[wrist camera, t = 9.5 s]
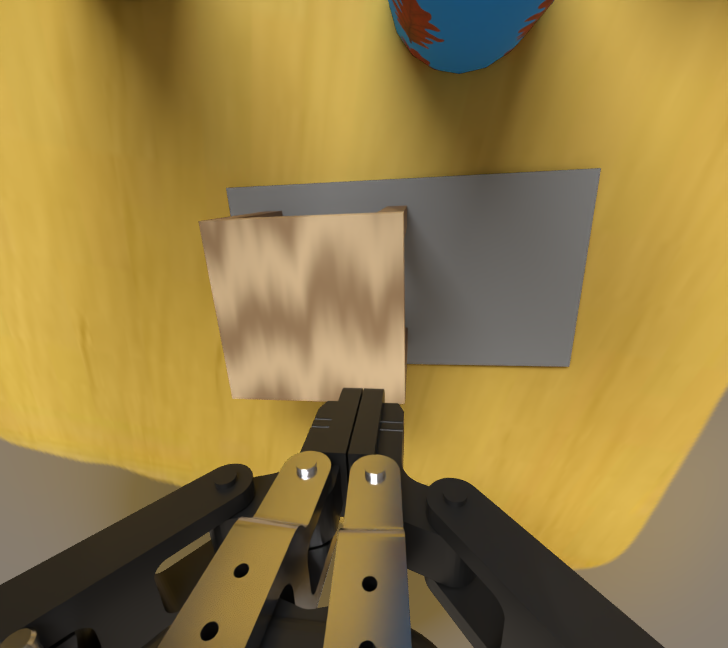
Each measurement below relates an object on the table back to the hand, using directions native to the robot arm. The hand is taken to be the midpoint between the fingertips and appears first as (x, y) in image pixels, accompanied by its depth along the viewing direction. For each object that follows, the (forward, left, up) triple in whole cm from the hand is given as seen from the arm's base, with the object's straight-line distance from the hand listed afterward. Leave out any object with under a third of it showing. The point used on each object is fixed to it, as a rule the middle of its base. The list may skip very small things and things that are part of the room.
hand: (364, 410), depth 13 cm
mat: (0, +1, -20) cm, 20 cm away
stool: (0, +1, -15) cm, 15 cm away
